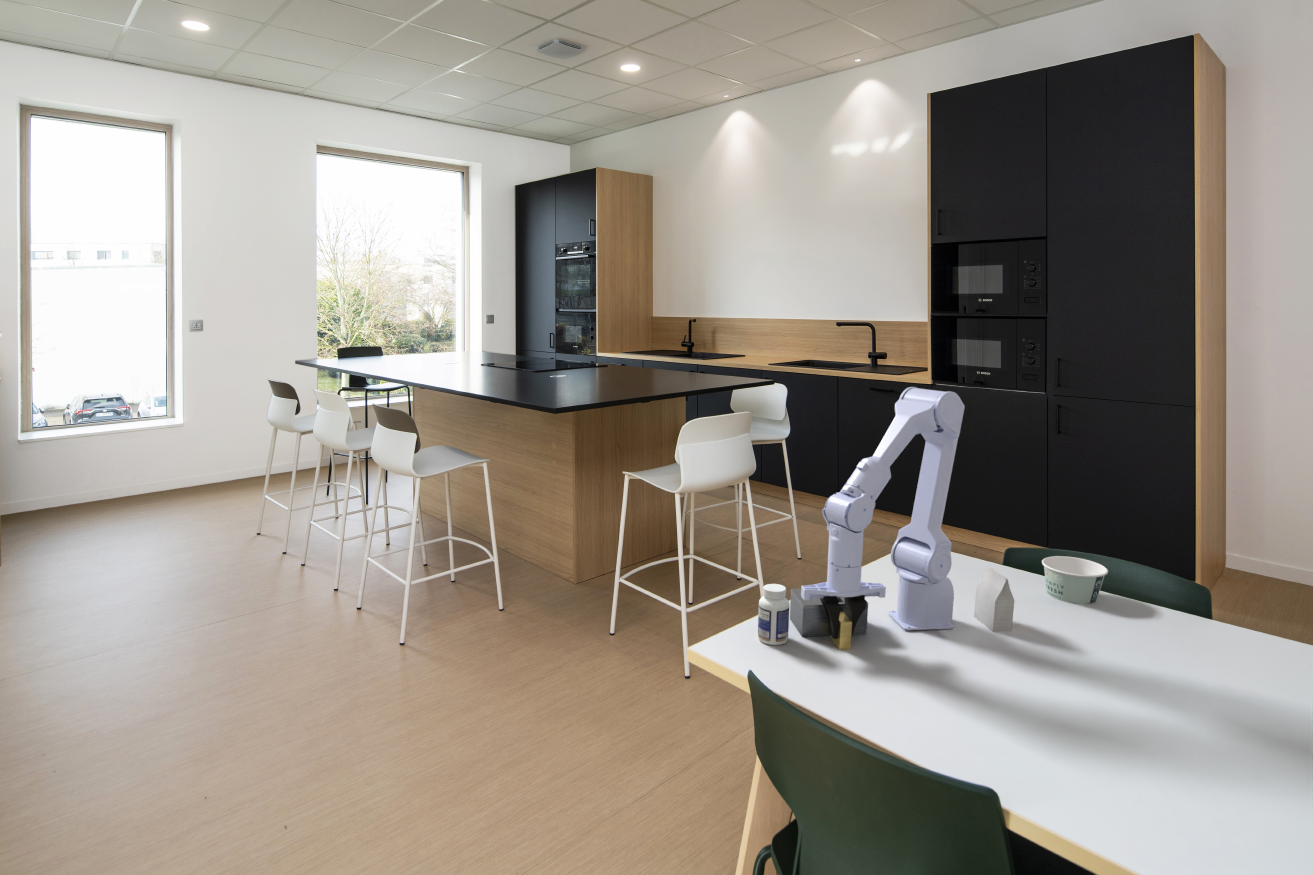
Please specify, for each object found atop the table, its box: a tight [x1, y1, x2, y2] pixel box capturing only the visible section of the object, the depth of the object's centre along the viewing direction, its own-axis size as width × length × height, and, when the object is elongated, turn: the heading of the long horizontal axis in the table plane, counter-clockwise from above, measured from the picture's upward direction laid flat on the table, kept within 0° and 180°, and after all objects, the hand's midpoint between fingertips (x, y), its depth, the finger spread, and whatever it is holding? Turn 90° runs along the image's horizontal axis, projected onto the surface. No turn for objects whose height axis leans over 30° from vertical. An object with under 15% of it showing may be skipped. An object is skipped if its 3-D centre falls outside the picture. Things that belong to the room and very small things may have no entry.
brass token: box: [830, 612, 852, 650], centre depth 133 cm, size 2×4×5 cm, turn 6°
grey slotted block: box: [789, 588, 869, 638], centre depth 140 cm, size 12×8×6 cm, turn 96°
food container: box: [1041, 555, 1109, 605], centre depth 156 cm, size 12×12×6 cm
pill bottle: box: [757, 583, 790, 646], centre depth 134 cm, size 5×5×10 cm
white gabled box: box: [973, 566, 1015, 632], centre depth 142 cm, size 4×7×10 cm, turn 5°
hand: (840, 635), depth 134 cm, fingers closed on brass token, 2 cm apart
